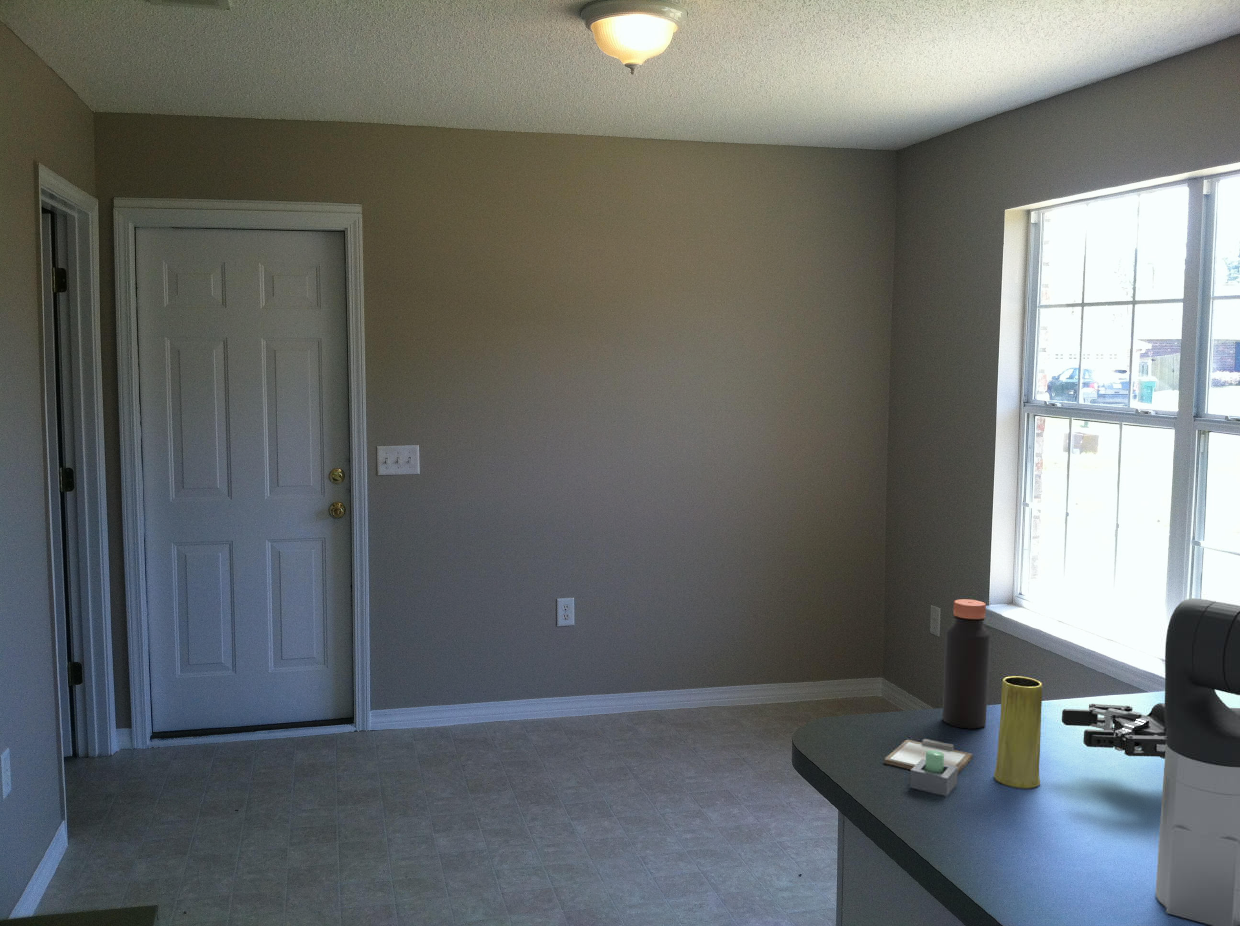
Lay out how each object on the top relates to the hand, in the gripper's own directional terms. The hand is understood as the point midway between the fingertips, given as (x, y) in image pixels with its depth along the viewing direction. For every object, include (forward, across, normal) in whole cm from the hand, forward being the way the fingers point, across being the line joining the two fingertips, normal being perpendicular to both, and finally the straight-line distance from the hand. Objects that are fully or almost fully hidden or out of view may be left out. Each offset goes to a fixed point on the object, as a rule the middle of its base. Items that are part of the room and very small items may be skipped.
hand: (1073, 727), depth 146 cm
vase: (+7, 0, +8) cm, 11 cm away
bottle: (+9, -24, +8) cm, 27 cm away
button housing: (+20, +3, +8) cm, 21 cm away
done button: (+20, +3, +7) cm, 21 cm away
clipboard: (+18, -6, +8) cm, 21 cm away
